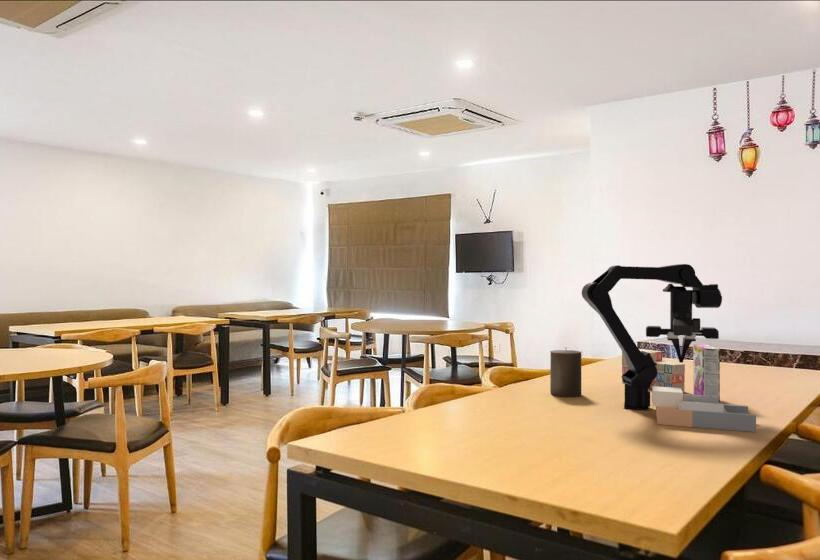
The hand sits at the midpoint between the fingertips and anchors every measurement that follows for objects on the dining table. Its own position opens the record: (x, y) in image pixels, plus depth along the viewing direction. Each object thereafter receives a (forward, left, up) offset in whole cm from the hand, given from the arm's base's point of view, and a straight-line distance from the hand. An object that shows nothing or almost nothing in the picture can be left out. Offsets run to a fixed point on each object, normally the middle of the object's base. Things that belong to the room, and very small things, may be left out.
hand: (681, 362), depth 171 cm
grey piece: (+4, -17, -13) cm, 22 cm away
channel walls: (+3, -17, -9) cm, 19 cm away
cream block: (-5, -17, -9) cm, 20 cm away
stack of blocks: (-7, +32, -13) cm, 35 cm away
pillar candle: (-33, +9, -13) cm, 37 cm away
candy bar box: (+8, +14, -13) cm, 21 cm away
